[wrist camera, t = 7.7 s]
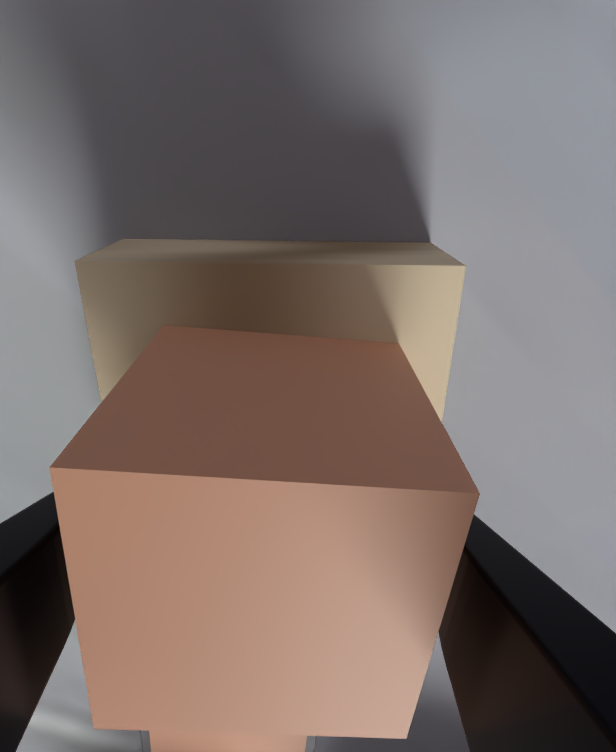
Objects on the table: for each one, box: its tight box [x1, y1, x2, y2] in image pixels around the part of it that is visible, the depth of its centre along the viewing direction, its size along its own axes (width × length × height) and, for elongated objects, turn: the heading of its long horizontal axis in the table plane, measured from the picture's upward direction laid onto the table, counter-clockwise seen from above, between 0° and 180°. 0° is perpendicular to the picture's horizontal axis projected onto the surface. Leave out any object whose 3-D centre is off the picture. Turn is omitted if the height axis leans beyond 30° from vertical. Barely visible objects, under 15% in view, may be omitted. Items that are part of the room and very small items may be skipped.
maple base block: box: [75, 239, 466, 422], centre depth 11 cm, size 7×7×3 cm
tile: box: [141, 730, 316, 752], centre depth 18 cm, size 7×7×1 cm
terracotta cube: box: [50, 325, 480, 739], centre depth 8 cm, size 4×4×4 cm
